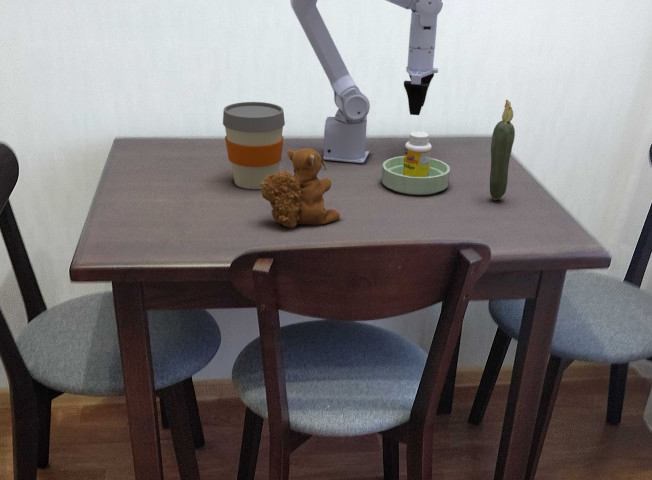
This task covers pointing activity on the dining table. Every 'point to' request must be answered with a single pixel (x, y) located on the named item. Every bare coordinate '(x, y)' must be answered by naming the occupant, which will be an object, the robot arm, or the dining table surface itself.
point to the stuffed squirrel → (299, 191)
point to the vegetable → (501, 153)
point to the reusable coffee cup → (253, 141)
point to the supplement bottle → (417, 155)
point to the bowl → (415, 185)
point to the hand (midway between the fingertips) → (416, 110)
